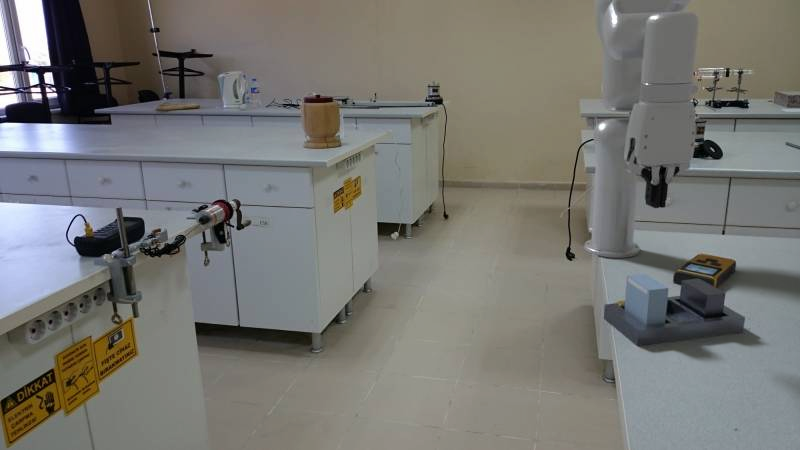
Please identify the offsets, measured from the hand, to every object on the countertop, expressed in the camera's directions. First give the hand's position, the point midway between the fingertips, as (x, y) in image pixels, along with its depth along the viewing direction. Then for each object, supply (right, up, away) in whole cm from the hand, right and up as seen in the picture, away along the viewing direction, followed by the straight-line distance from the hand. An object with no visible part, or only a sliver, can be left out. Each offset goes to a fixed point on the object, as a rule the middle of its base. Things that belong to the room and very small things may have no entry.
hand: (655, 205), depth 102 cm
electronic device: (+22, -15, +28) cm, 39 cm away
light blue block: (0, -21, +5) cm, 21 cm away
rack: (+6, -21, +7) cm, 23 cm away
